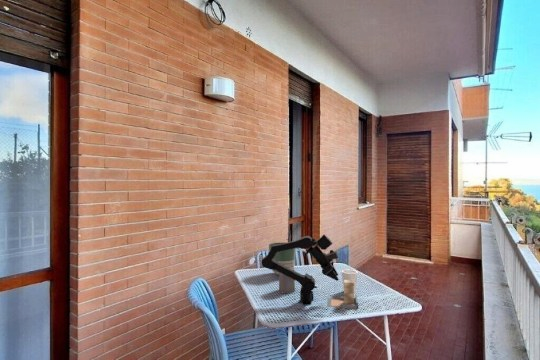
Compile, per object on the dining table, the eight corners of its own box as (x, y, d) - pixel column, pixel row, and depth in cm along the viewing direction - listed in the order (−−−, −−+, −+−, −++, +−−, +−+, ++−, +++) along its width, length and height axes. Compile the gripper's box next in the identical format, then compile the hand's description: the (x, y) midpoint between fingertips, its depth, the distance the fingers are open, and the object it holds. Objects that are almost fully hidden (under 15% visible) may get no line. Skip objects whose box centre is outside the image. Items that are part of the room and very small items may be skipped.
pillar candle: (284, 287, 204) (284, 263, 204) (297, 289, 198) (297, 265, 198) (276, 291, 196) (275, 267, 196) (289, 294, 190) (289, 269, 190)
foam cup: (347, 289, 198) (347, 268, 198) (360, 293, 191) (360, 271, 192) (338, 293, 191) (338, 271, 192) (352, 297, 185) (352, 274, 185)
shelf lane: (327, 308, 169) (326, 300, 169) (327, 300, 180) (327, 293, 181) (358, 310, 165) (358, 302, 165) (357, 302, 177) (357, 294, 177)
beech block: (344, 305, 170) (344, 282, 170) (344, 301, 175) (344, 279, 175) (354, 305, 169) (353, 283, 169) (353, 302, 174) (353, 280, 174)
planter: (270, 270, 243) (270, 242, 243) (296, 271, 240) (296, 242, 241) (267, 277, 224) (266, 247, 224) (294, 278, 221) (294, 247, 221)
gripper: (329, 249, 166) (350, 273, 164) (329, 243, 184) (348, 264, 182) (313, 263, 167) (333, 286, 165) (315, 255, 186) (333, 276, 184)
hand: (337, 277), depth 174 cm, fingers open, 9 cm apart
